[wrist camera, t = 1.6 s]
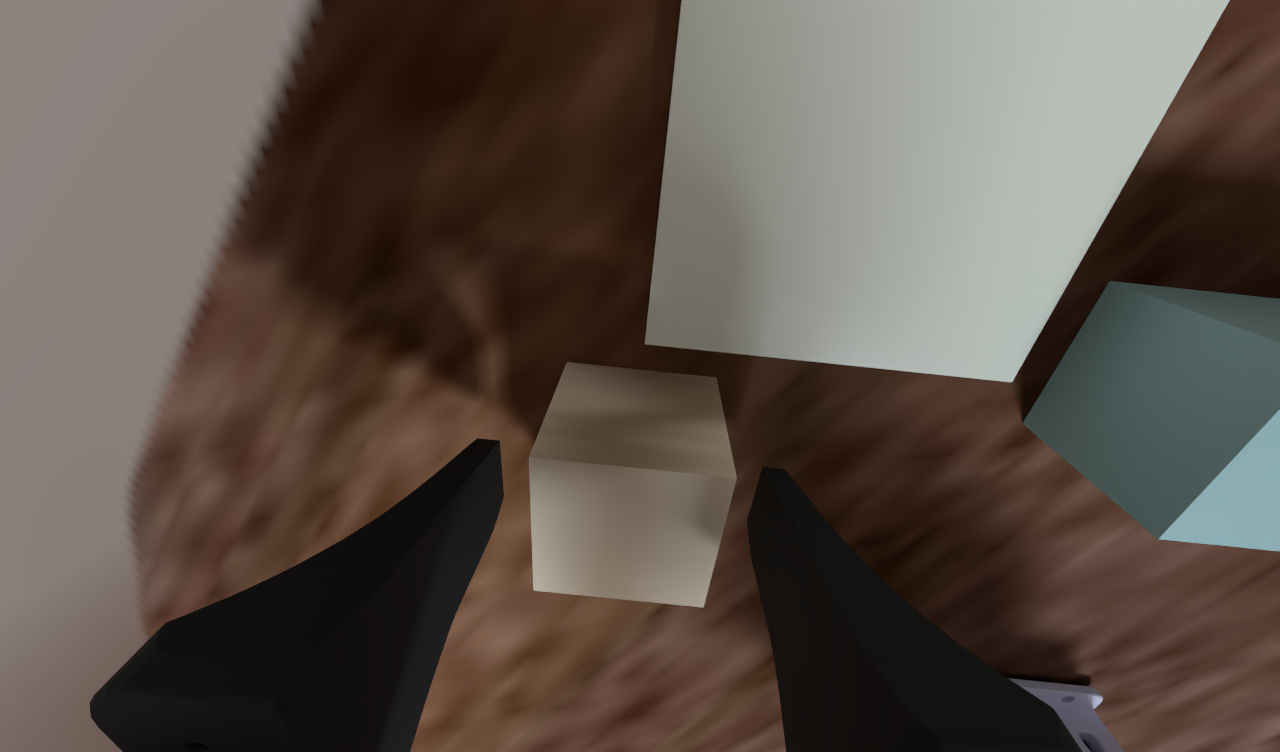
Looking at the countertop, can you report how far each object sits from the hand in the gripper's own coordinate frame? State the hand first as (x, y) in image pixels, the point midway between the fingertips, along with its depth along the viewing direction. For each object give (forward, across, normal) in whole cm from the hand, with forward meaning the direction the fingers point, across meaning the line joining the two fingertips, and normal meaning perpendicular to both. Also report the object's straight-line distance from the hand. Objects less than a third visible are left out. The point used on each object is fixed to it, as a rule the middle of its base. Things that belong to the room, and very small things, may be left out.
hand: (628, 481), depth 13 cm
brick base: (+2, 0, 0) cm, 3 cm away
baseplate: (+2, -5, -8) cm, 10 cm away
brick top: (+2, -14, -4) cm, 15 cm away
